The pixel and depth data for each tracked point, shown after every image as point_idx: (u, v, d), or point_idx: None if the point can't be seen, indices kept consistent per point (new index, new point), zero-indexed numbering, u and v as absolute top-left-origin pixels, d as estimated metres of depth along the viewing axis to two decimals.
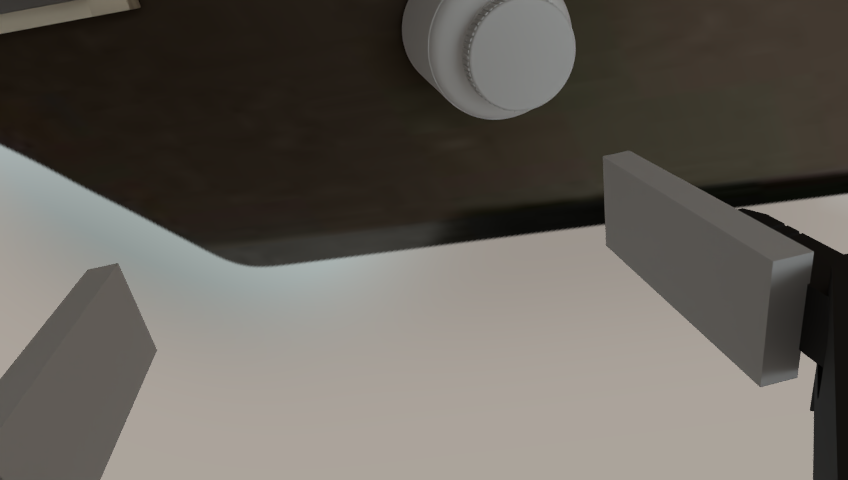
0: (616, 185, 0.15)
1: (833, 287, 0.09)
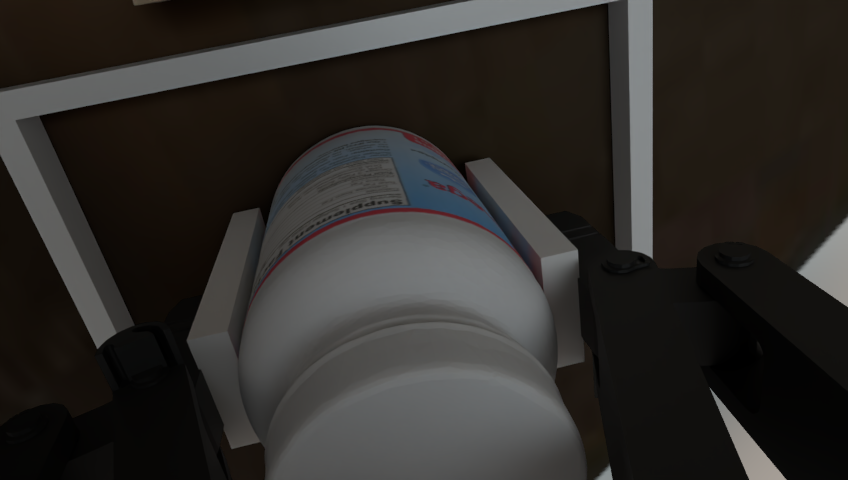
0: (473, 189, 0.17)
1: (592, 287, 0.10)
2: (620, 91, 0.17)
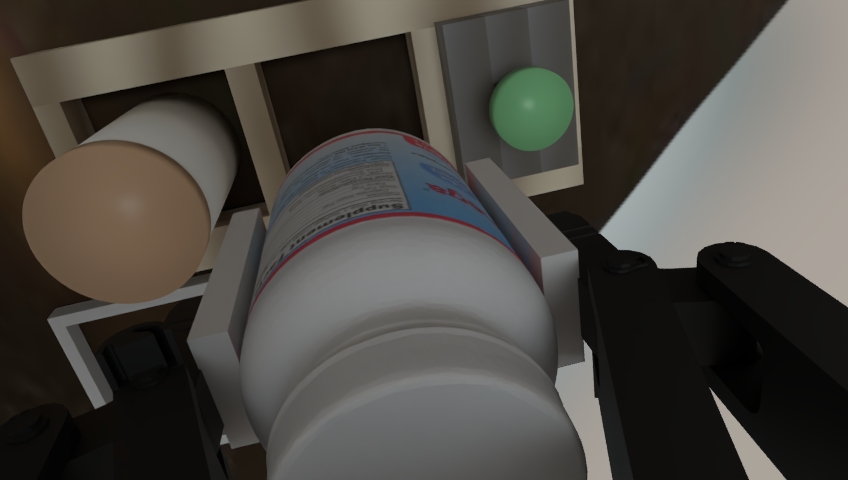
0: (473, 189, 0.17)
1: (592, 287, 0.10)
2: None
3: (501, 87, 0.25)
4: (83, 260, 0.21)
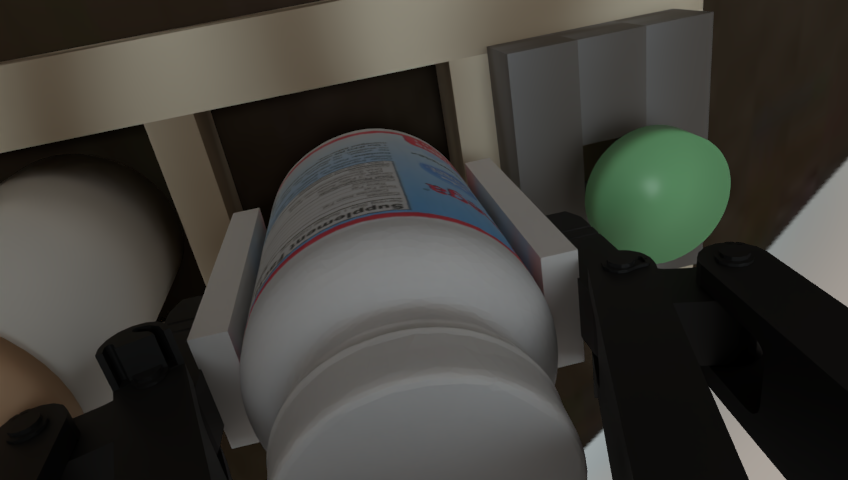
0: (473, 189, 0.17)
1: (592, 287, 0.10)
2: None
3: (613, 164, 0.15)
4: None
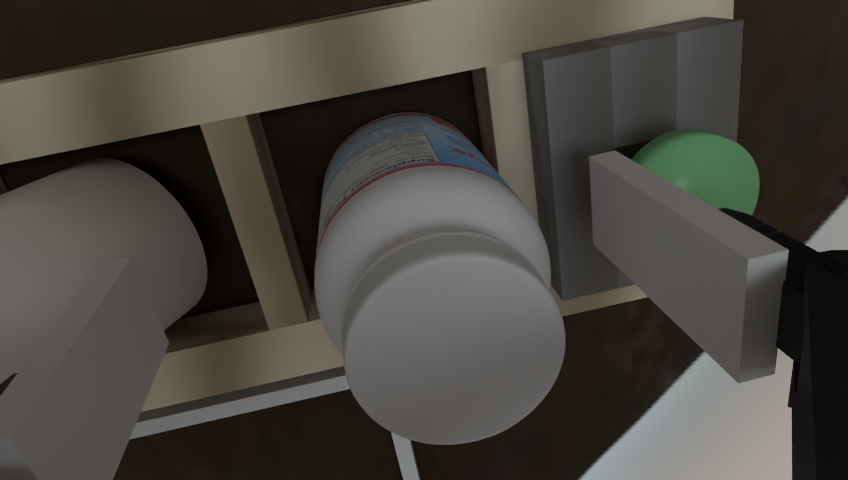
0: (602, 185, 0.15)
1: (808, 285, 0.09)
2: None
3: (644, 165, 0.15)
4: None
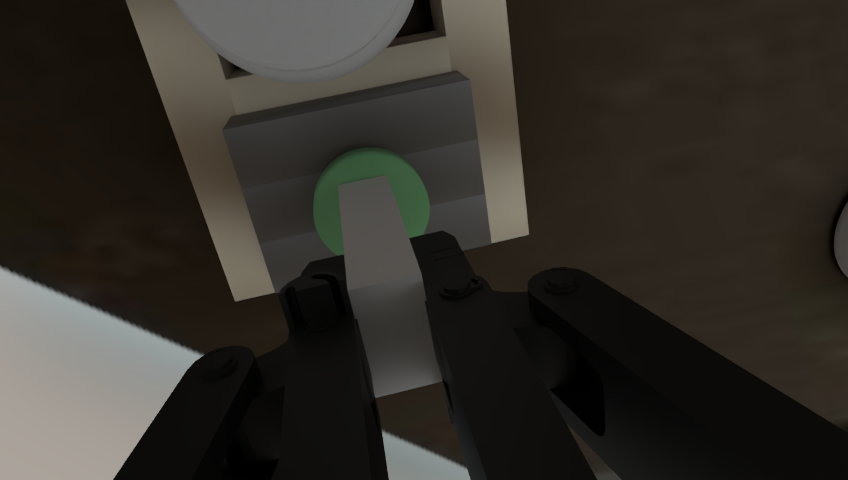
0: None
1: (433, 316, 0.10)
2: None
3: (403, 162, 0.18)
4: None
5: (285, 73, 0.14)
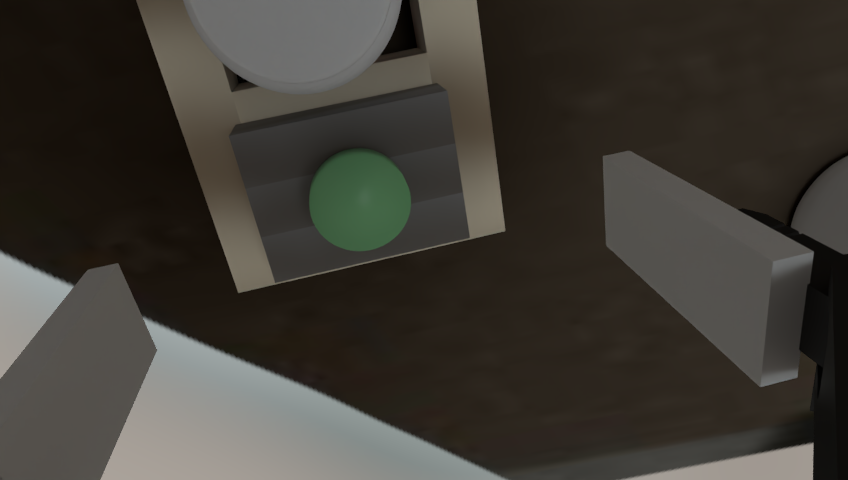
0: (616, 185, 0.15)
1: (833, 287, 0.09)
2: None
3: (387, 160, 0.21)
4: None
5: (287, 86, 0.16)
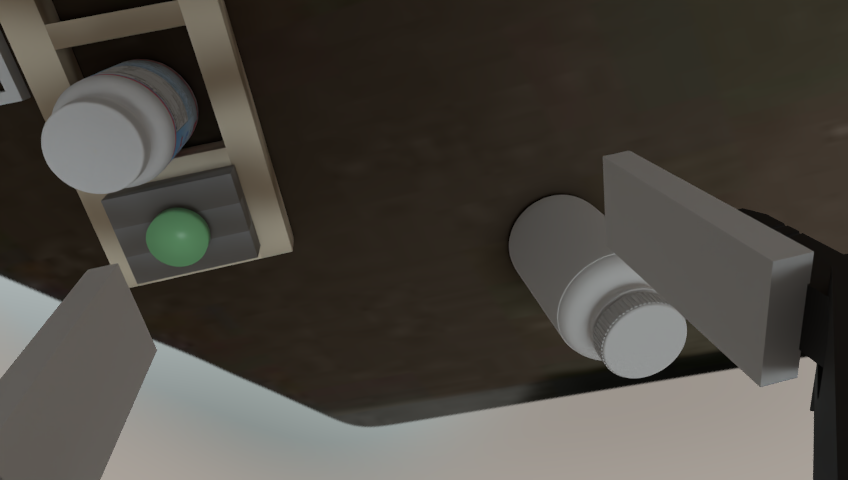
0: (616, 185, 0.15)
1: (833, 287, 0.09)
2: None
3: (191, 215, 0.36)
4: None
5: None
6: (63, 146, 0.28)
